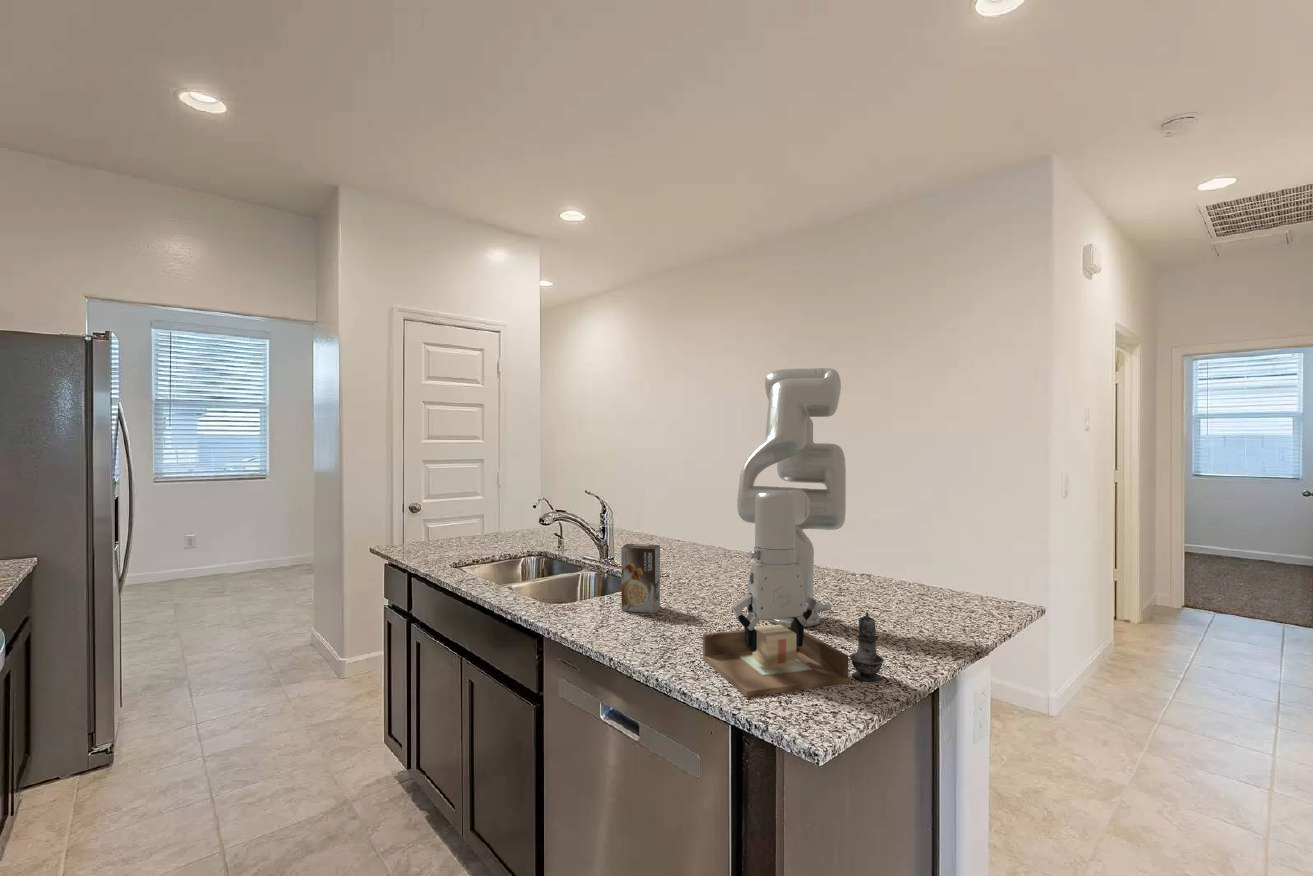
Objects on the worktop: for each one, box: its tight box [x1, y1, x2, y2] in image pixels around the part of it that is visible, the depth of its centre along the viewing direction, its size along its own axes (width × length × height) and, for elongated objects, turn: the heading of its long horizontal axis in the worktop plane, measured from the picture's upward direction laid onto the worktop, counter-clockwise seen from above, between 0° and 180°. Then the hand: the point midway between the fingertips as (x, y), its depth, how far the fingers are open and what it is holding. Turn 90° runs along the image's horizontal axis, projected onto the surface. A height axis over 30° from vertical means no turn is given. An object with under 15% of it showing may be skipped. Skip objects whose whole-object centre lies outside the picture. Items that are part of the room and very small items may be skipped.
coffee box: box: [620, 543, 661, 614], centre depth 160 cm, size 9×6×16 cm
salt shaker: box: [849, 611, 885, 684], centre depth 115 cm, size 6×6×12 cm
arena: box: [702, 625, 849, 698], centre depth 118 cm, size 20×19×5 cm
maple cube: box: [753, 624, 796, 669], centre depth 119 cm, size 6×6×6 cm
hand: (774, 646), depth 119 cm, fingers open, 9 cm apart
